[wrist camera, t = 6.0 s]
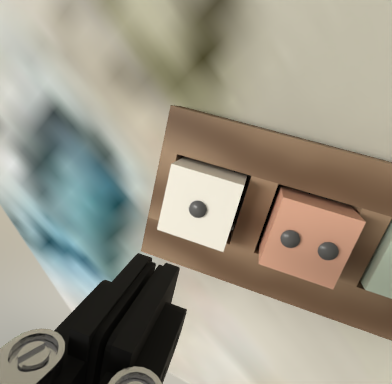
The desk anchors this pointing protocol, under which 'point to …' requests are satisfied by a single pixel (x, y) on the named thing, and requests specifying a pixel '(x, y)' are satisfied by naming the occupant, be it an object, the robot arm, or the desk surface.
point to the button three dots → (380, 267)
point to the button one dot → (200, 202)
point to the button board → (260, 204)
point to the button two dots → (309, 237)
